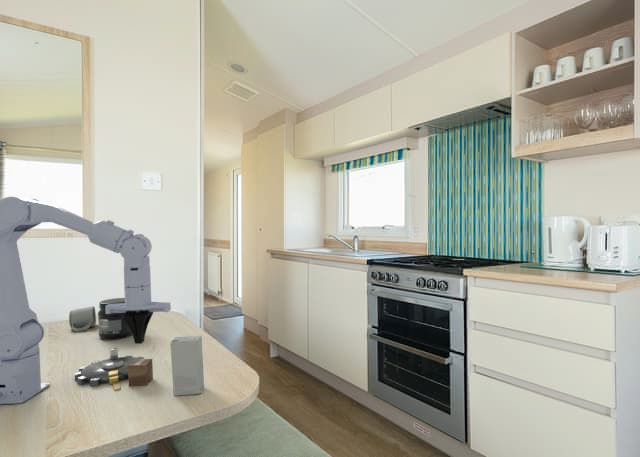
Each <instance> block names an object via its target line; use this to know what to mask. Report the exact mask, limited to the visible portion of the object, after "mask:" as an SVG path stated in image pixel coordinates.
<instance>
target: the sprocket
mask: <svg viewBox="0 0 640 457" xmlns="http://www.w3.org/2000/svg"><path fill="white" fill-rule="evenodd" d="M109 354H110V356H109V357H108V358H107V359H103V360H95V361H93V362H91V364H88V365H83V366H81V367H79V368H78V371H77V372H76V371H75V372H74V381H77V384H78V385H80V386H83V385H86V384H89V386H90V387H99V386H100V385H101V384H102V385H103V384H109V385H113V384H116V383H119V382H120V381H124V380H128V381H129V379H128V365H129V364H130V363H132V362H133V361H134V360H135V359H145V357H144V356H135V357H134V356H133V355H125V356H122V357H121V356H120V357H119V350H118V347H112V348H110V350H109Z"/></svg>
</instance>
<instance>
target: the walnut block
mask: <svg viewBox="0 0 640 457" xmlns="http://www.w3.org/2000/svg"><path fill="white" fill-rule="evenodd" d="M153 371H154V370H153V358H144V359H135V360H134V361H133V362H132V363H130V364H129V365H128V379H129V380H128V379H127V380H128V387H147V386H148V385H149V384H150V383H151V382H152V380H153V379H154V372H153Z"/></svg>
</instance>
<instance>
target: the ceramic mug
mask: <svg viewBox="0 0 640 457" xmlns="http://www.w3.org/2000/svg"><path fill="white" fill-rule="evenodd" d="M68 321H69V322H68V323H69V327H70V328H71V329H72V331H73V332H76V333H79V332H85V331H87V330H88V329H89V328H94V327H96V324H97V314H96V309H95V306H92V305H91V306H87V307H81V308H75V309H72V310H70V311H69V315H68Z"/></svg>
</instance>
